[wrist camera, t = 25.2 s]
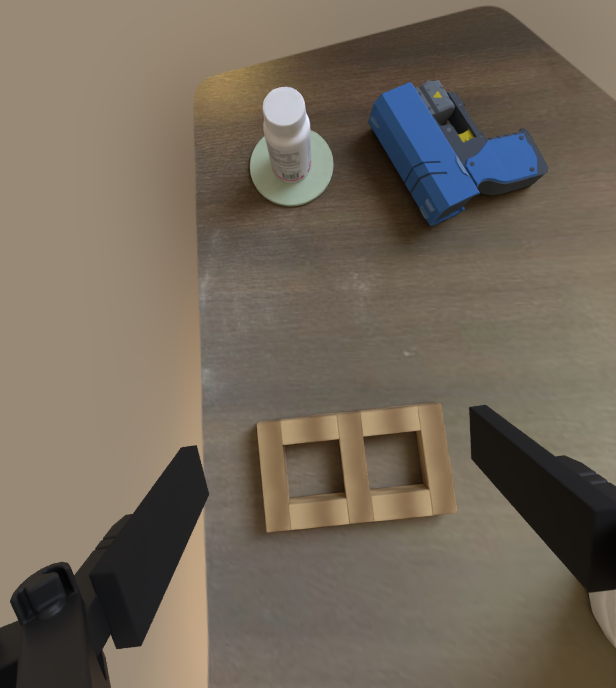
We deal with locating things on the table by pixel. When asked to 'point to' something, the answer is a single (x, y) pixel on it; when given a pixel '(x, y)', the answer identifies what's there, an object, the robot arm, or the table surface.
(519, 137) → the stun gun
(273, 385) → the table surface
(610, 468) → the table surface
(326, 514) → the frame
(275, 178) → the coaster
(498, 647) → the table surface
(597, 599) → the bottle
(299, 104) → the pill bottle
